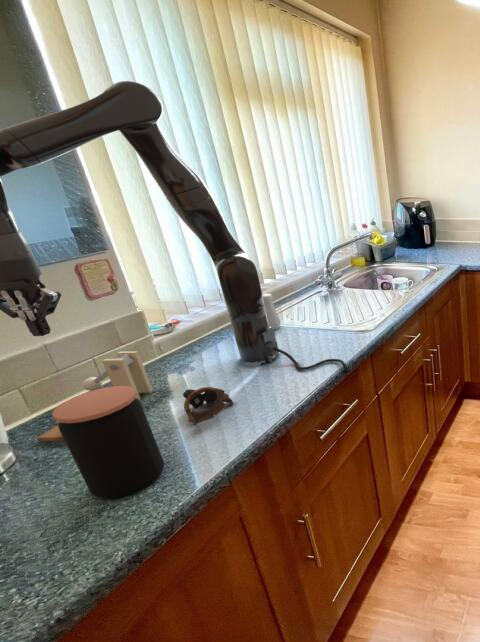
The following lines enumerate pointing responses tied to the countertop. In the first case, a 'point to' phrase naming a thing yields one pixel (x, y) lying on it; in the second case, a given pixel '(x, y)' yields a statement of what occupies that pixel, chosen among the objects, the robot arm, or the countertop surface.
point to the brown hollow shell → (209, 396)
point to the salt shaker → (271, 312)
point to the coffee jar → (110, 441)
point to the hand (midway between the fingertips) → (42, 334)
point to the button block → (52, 435)
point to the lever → (101, 377)
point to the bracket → (128, 372)
